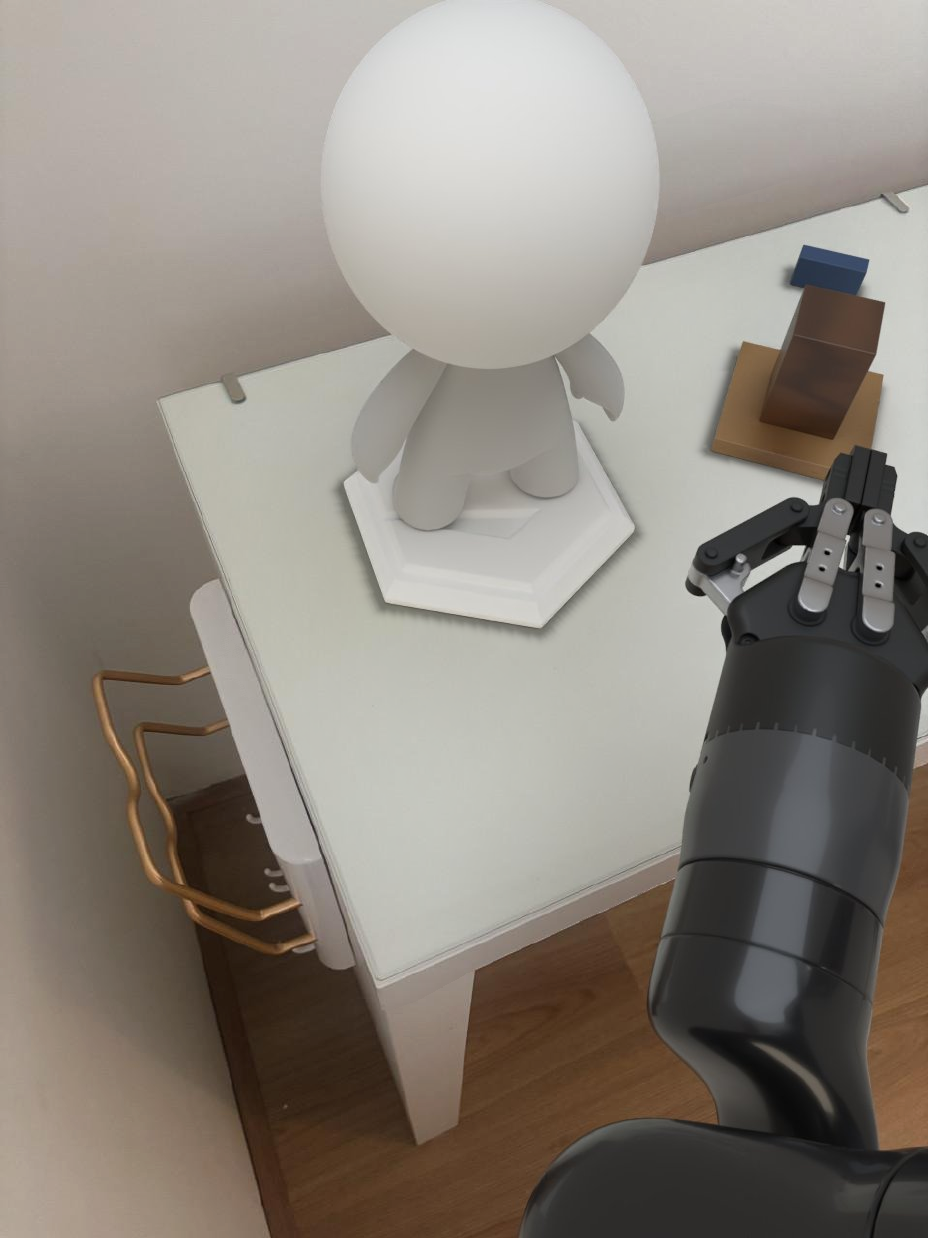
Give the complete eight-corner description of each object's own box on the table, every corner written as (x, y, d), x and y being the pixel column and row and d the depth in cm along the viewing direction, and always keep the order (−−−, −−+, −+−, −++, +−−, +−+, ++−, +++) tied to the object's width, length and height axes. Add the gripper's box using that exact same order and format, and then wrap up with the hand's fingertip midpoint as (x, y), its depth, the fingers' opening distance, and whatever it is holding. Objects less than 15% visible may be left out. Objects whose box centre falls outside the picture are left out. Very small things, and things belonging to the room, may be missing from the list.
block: (877, 387, 79) (930, 285, 70) (859, 489, 73) (915, 393, 64) (738, 353, 81) (773, 251, 72) (710, 450, 75) (744, 351, 66)
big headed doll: (550, 380, 79) (605, -105, 49) (666, 591, 68) (828, 127, 38) (325, 436, 76) (238, -50, 46) (408, 668, 64) (363, 225, 34)
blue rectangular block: (857, 286, 86) (869, 258, 83) (854, 299, 85) (866, 272, 82) (793, 271, 87) (803, 243, 84) (789, 284, 86) (799, 256, 83)
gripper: (1036, 815, 30) (1056, 443, 39) (644, 687, 33) (744, 363, 41) (935, 879, 37) (971, 548, 45) (614, 768, 39) (706, 474, 47)
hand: (862, 460), depth 43 cm, fingers closed
